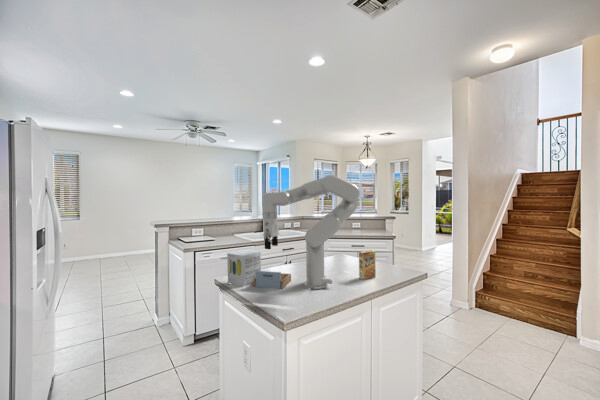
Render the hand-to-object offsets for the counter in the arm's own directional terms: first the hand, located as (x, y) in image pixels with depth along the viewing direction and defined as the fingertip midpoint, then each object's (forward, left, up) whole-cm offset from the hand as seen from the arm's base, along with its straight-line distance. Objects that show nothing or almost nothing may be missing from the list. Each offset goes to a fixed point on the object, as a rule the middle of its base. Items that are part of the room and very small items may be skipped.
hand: (271, 247), depth 150 cm
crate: (-1, +1, -20) cm, 21 cm away
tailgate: (-1, +7, -19) cm, 21 cm away
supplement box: (+16, +2, -21) cm, 26 cm away
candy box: (-49, -26, -21) cm, 59 cm away
